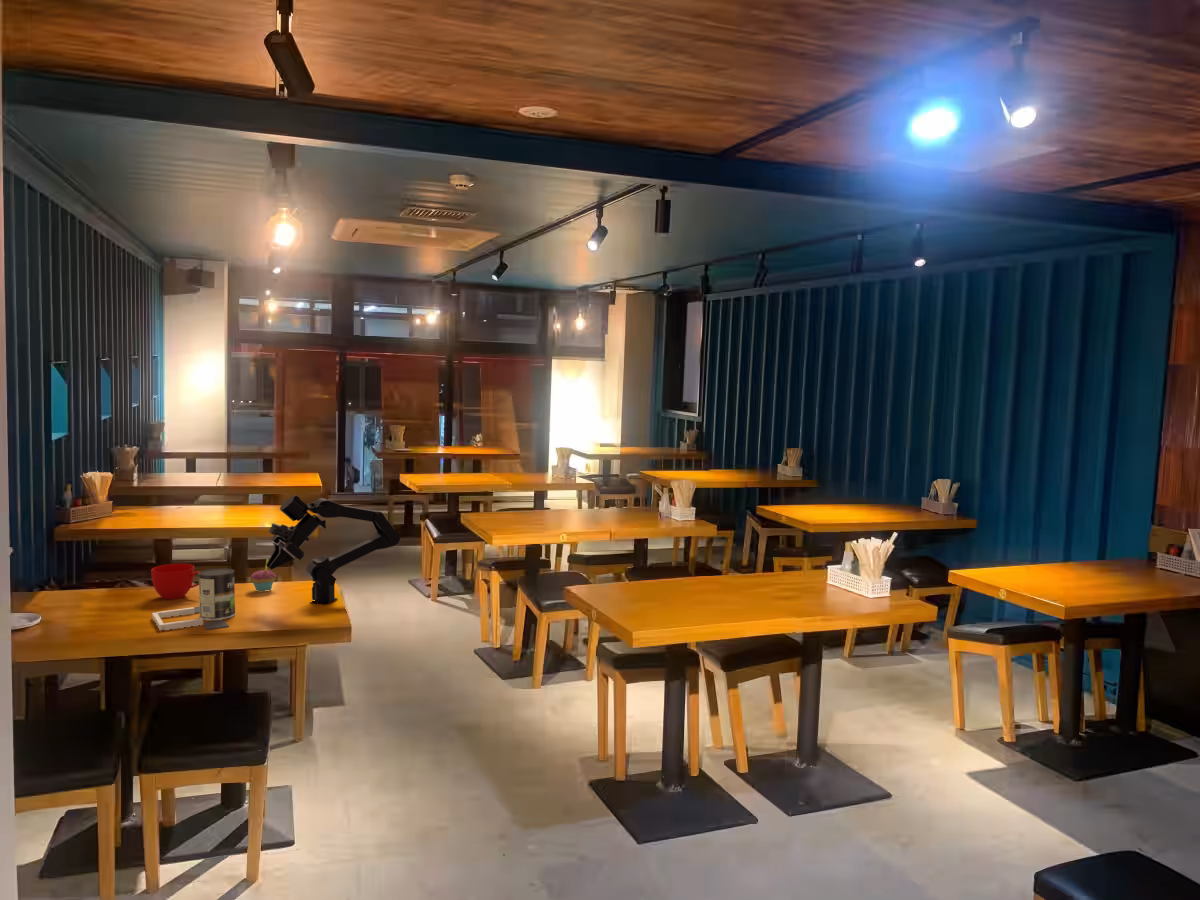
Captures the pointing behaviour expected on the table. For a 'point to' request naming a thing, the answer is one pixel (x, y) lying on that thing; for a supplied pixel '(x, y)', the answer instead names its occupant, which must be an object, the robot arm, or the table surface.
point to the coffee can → (216, 594)
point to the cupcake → (263, 579)
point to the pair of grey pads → (212, 624)
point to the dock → (175, 625)
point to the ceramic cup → (173, 580)
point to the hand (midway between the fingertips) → (268, 567)
